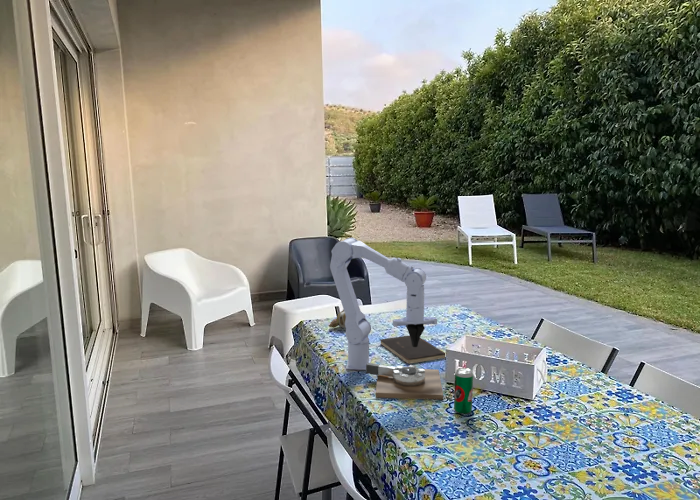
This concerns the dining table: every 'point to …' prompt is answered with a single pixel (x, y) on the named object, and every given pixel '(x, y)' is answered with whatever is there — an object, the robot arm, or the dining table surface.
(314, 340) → the dining table surface
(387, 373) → the silver mechanical part
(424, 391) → the walnut board
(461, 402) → the soda can
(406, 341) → the hardcover book
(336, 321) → the ceramic sculpture
